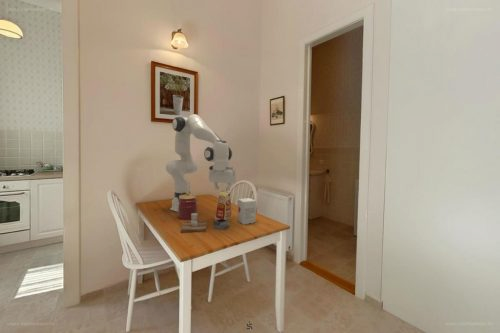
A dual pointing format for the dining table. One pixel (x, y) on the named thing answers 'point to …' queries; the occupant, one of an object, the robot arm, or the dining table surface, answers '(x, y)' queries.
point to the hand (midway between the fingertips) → (222, 189)
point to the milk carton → (223, 206)
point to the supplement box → (246, 210)
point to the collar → (221, 224)
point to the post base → (193, 229)
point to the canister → (187, 206)
